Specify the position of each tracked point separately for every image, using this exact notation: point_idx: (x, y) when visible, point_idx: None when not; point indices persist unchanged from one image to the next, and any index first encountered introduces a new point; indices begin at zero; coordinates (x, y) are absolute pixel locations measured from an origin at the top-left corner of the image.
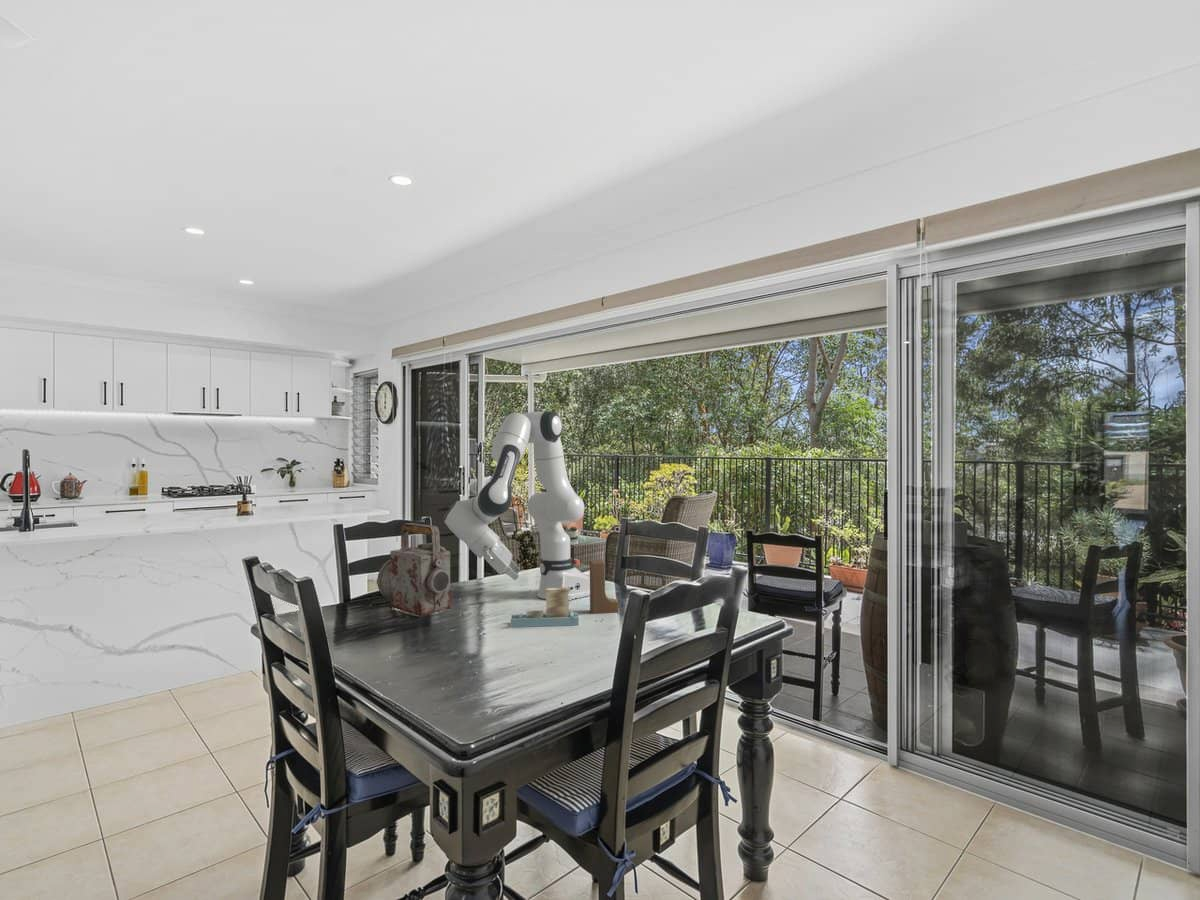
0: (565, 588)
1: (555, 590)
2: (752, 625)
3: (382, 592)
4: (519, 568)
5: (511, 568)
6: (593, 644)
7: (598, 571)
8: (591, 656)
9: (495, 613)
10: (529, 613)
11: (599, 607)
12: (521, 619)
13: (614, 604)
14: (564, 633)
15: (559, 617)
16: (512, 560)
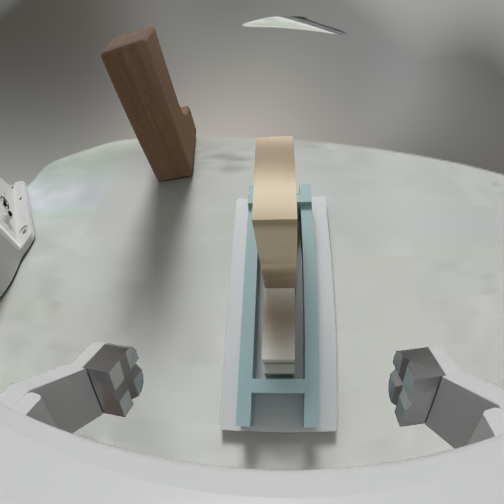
0: (271, 145)
1: (295, 181)
2: (294, 26)
3: None
4: (95, 346)
5: (84, 422)
6: (434, 184)
7: (158, 56)
8: (499, 196)
9: None
10: (294, 345)
11: (188, 144)
12: (318, 381)
13: (189, 115)
14: (354, 244)
15: (304, 237)
16: (14, 397)
